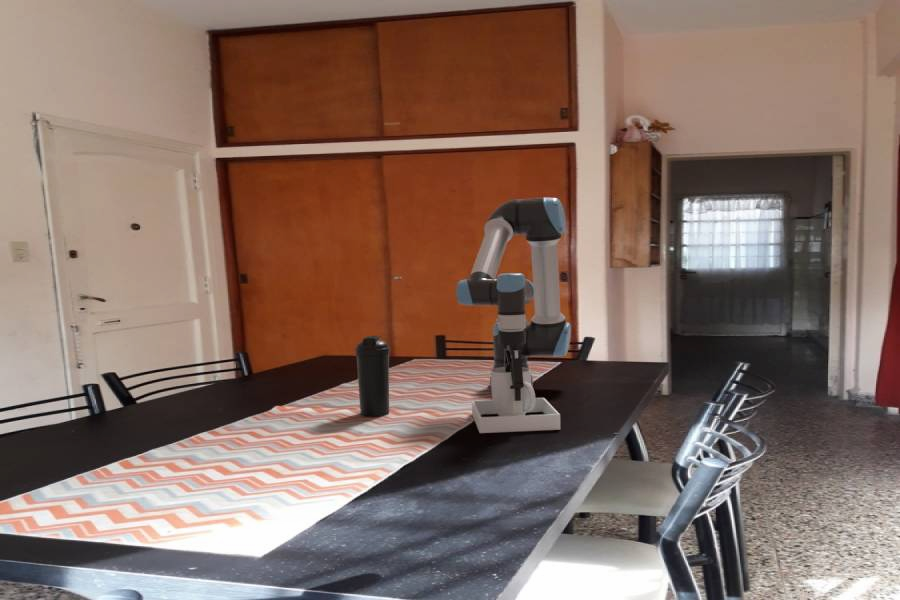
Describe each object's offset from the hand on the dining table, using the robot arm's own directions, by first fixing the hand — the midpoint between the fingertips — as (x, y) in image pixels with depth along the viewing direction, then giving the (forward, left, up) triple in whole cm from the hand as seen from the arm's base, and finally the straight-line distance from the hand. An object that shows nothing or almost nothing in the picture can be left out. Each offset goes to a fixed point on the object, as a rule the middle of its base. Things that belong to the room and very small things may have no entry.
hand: (513, 406), depth 189 cm
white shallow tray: (0, 0, -4) cm, 4 cm away
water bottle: (-17, -39, -4) cm, 43 cm away
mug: (0, 0, -3) cm, 3 cm away
